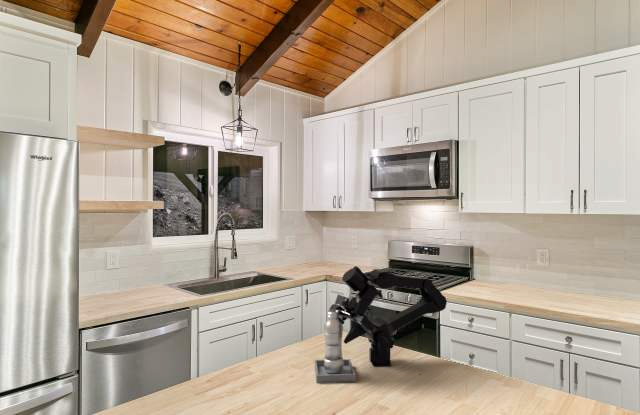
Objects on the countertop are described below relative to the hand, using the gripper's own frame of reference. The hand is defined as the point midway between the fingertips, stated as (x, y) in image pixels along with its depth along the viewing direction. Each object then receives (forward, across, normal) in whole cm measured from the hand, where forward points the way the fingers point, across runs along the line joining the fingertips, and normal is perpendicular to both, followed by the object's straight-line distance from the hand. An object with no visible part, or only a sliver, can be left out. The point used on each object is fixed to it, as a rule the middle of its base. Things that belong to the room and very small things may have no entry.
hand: (336, 338), depth 133 cm
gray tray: (+9, 0, +8) cm, 11 cm away
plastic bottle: (+8, 0, +7) cm, 11 cm away
